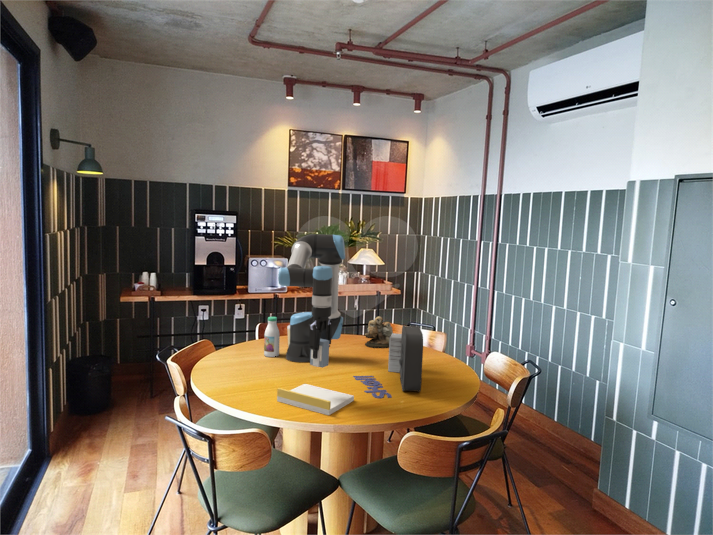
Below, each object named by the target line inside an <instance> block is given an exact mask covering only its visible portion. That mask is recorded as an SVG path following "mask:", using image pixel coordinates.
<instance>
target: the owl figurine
mask: <svg viewBox="0 0 713 535" xmlns="http://www.w3.org/2000/svg"><path fill="white" fill-rule="evenodd" d="M383 319H384V318H383V317H382V316H376V317H375V318H374V319H372V320H369V321H368V327H367V332H366V333H364V336H365V338H366V339H370V340H367V341H366V342H364V345H365V346H366V347H367V348H373V349H389V340H390V336H391V335H392V333H394V332H393V326H391V323H390V321H384V322H383Z"/></svg>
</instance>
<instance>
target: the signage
mask: <svg viewBox="0 0 713 535" xmlns="http://www.w3.org/2000/svg"><path fill="white" fill-rule="evenodd" d="M352 377H353V378H354V380H356V381H360V383H362V384H363V385H364V386H366V388H367V389H366V390H364V391H363V392H364V393H367V394H371V395H372V397H373V398H376V399H384V395H385V396H386V398H387V399H391V398H392V394H390V393H389V392H388V391H387V389H383V388H384V386H383V384H382V383H380V382H381V381H379V380H378V381H377V378H375V376H374V375H353V376H352ZM377 393H379V395H378V394H377Z"/></svg>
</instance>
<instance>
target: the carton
mask: <svg viewBox="0 0 713 535" xmlns="http://www.w3.org/2000/svg"><path fill="white" fill-rule="evenodd" d="M329 345H330V344H329V340H325V339H320V344H319V350H320V367H319V368H325V367H328V366H329V359H330V356H329V355H330V347H329ZM309 366H313V350H312V349H311V351H310V361H309Z"/></svg>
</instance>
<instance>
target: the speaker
mask: <svg viewBox="0 0 713 535" xmlns="http://www.w3.org/2000/svg"><path fill="white" fill-rule="evenodd" d="M401 334H402V339H401V358H400V360H399V364H400V372H399V377H400V378H399V379H400V386H401V390H402V392H405V391H406V392H409V391H411V392H418V393H420V392H421V390H422V376H423V356H424V334H423V332H422V330H421V327H420V325H416V326H408V325H402V327H401Z"/></svg>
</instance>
